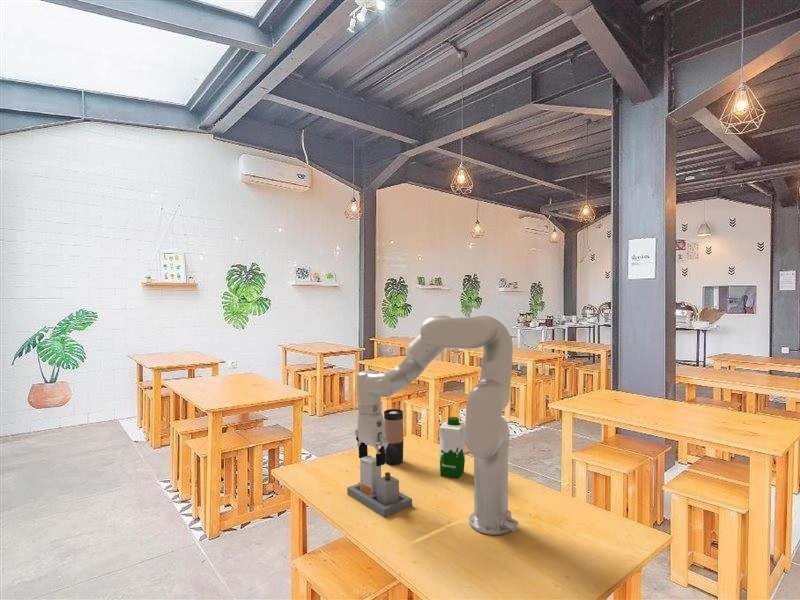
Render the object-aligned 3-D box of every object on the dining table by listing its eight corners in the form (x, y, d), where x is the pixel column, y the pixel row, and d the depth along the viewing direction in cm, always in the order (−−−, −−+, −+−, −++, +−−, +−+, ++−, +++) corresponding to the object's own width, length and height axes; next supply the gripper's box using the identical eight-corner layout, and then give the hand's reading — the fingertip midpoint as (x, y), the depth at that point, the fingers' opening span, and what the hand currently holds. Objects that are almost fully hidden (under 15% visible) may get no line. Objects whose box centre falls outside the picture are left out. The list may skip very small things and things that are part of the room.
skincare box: (359, 494, 148) (359, 458, 148) (369, 490, 151) (369, 454, 151) (372, 500, 144) (371, 463, 144) (381, 496, 147) (381, 459, 147)
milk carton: (466, 471, 168) (466, 417, 167) (460, 480, 159) (460, 424, 159) (444, 467, 171) (443, 415, 171) (436, 477, 163) (436, 422, 162)
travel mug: (407, 460, 179) (406, 410, 178) (396, 467, 172) (396, 415, 172) (391, 457, 183) (390, 408, 182) (380, 463, 176) (379, 412, 176)
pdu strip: (412, 507, 140) (412, 496, 140) (384, 519, 133) (383, 507, 133) (374, 486, 155) (374, 476, 155) (347, 495, 148) (347, 485, 148)
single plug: (399, 505, 140) (398, 473, 140) (386, 510, 137) (386, 478, 137) (389, 499, 144) (389, 468, 144) (376, 504, 141) (376, 472, 141)
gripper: (395, 411, 143) (397, 465, 143) (364, 402, 156) (366, 452, 156) (376, 416, 138) (378, 471, 138) (345, 406, 151) (347, 457, 152)
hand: (371, 461), depth 147 cm, fingers open, 9 cm apart
